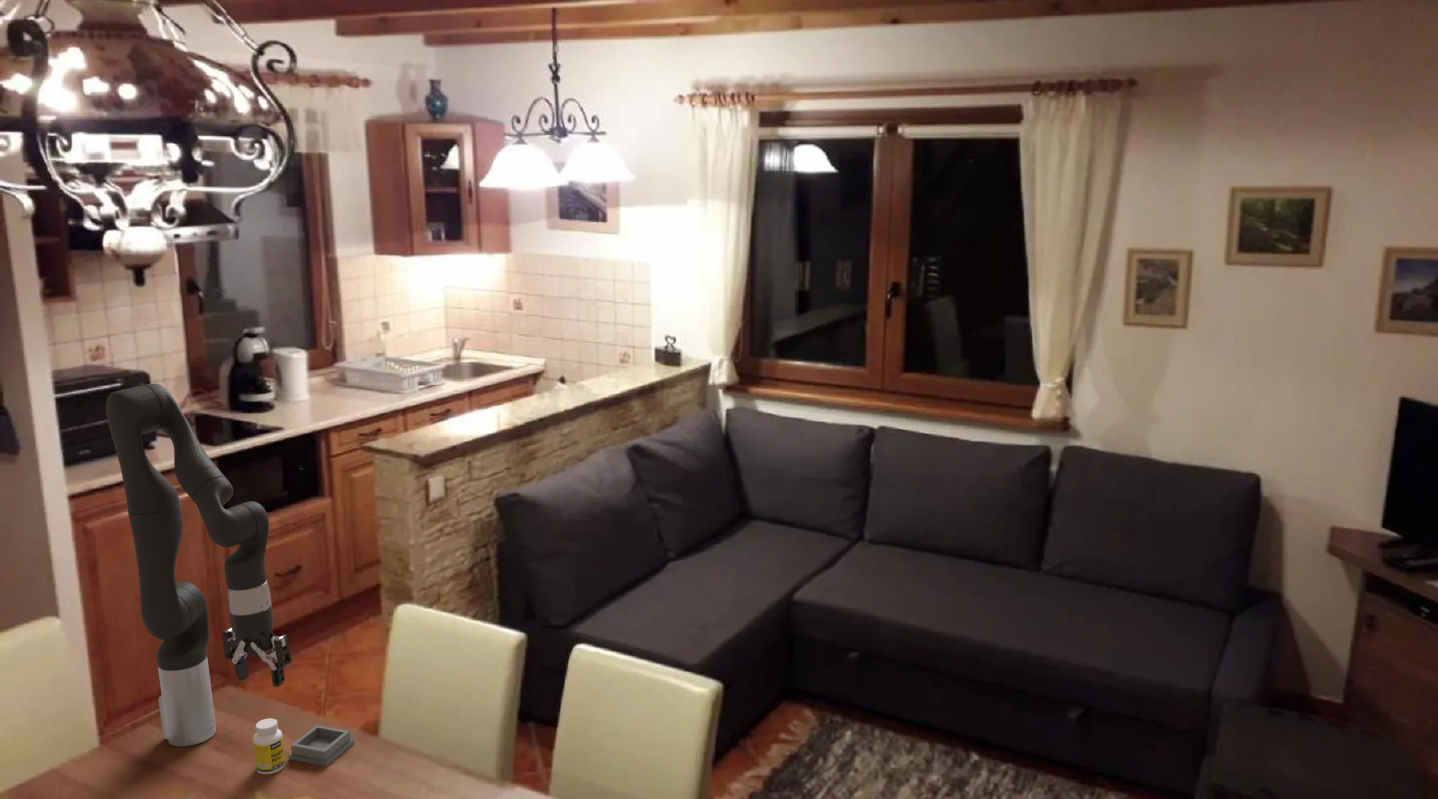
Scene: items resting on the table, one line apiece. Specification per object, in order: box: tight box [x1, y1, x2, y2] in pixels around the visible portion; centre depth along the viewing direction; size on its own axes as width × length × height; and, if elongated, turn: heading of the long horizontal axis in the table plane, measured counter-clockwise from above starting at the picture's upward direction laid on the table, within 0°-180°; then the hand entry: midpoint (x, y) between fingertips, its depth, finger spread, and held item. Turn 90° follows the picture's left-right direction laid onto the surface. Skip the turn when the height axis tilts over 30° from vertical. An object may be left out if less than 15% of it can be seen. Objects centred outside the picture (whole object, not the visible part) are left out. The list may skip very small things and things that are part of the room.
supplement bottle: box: [252, 718, 286, 775], centre depth 213 cm, size 5×5×10 cm
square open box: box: [288, 724, 355, 768], centre depth 219 cm, size 9×9×3 cm
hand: (261, 682), depth 210 cm, fingers open, 8 cm apart
